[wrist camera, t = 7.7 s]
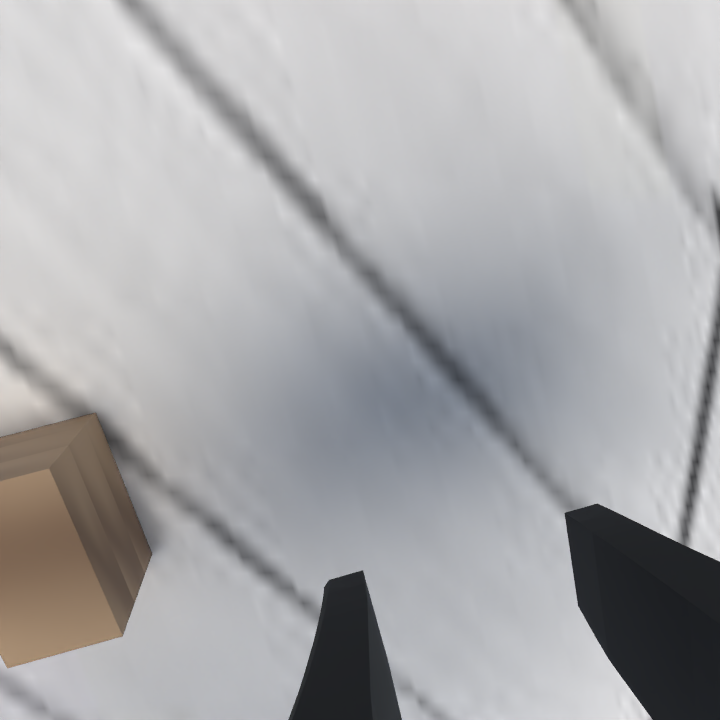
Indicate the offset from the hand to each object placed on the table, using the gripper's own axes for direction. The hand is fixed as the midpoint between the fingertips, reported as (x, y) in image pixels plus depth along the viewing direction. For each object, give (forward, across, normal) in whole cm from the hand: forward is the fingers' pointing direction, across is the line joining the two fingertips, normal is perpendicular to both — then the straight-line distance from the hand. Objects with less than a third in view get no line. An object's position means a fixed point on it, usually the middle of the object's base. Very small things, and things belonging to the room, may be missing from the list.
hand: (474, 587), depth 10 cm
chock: (+9, +12, 0) cm, 15 cm away
